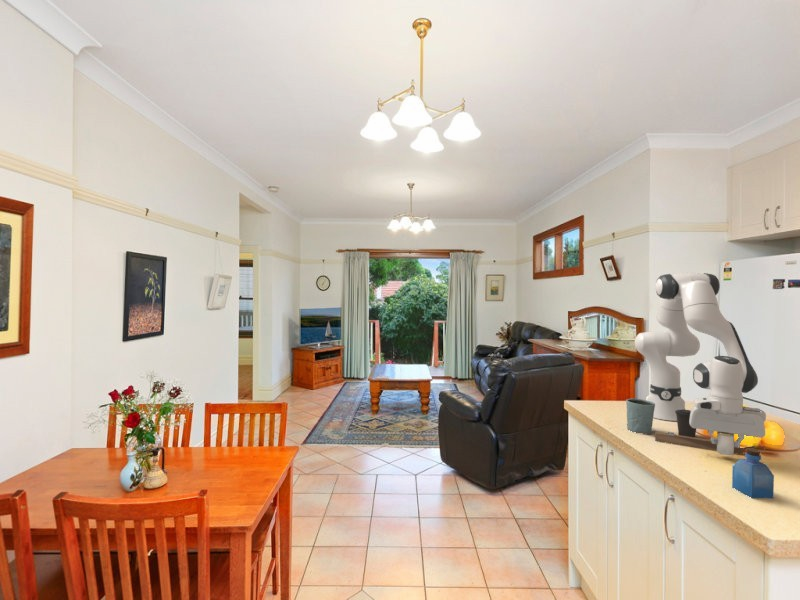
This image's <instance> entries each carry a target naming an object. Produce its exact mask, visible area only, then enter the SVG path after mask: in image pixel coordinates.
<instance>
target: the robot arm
mask: <svg viewBox="0 0 800 600" xmlns="http://www.w3.org/2000/svg"><path fill="white" fill-rule="evenodd" d="M719 280H720V279H719V278H718V277H717V275H715V274H713V273H712V274H711V273H708V272H704V273H699V272H698V273H696V272H686V273H685V272H683V273H673V274H671V273H668V274H661V275H660V276H658V278H657V279H656V282H655V291H656V295H657V296H658V297H659V298H660V299H659V302H658V308H657V314H656V321H657V322H658V323H659V324H660V325H661V326H662V327H664V328H666V329H667V330H668V331H646V332H645V331H644V332H638V334H637V335H636V336H635V338H634V346H635V349H636V351H637V352H638V353H640V354H641V355H642V356H643V357H644V358H645V359H646V361H647V362H648V364H649V367H650V372H651V373H650V374H651V375H650V376H651V384H650V386H649V389H650V390H649V392H650V393H649V394H648V395H647V396H646V398H645V400H647V401H651V402H653V403H655V409H654V416H653V419H657V420H663V421H672V422H673V421H674V422H677V416H676V413H675V411H676V410H686V401H685V400H684V399H683V398H682V387H681V371H680V369H679V368H678V367H677V366H675V365H674V364H672V363H670V362H668V361H667V357H682V358H683V357H690V356H695V355H696V354H697V353H699V351H700V348H701V347H700V346H701V344H700V340H699V338H698V337H697V336H696V335H695V334H693V333H692V332H691V331H690V330H689V328H688V326H689V327H690V328H691V329H693V330H695V331H697V332H699V333H702V334H705V335H708V336H710V337H713V338H715V339H717V340H718V341H720V342H721V343H722V345H723V346H724V350H725V352H726V356H725V355H715V356H713V357H712V358H711V360H709V361H706V362H699V363H698V364H697V365H696V366H695V367H694V368H693V371H692V377H693V379H692V380H693V382H694V383H695V384H696V385H697V386H698V387H700V388H701V389H704V390H710V392H709V396H705V397H700V398H695V399H694V400H693V405H694V406H692V408H691V413H690V419H689V424H690V426H691V427H692V428H696V430H697V429H698V430H703V431H704V430H705V431H707V434H709V437H710V438H712V444H718V443H717V442H718V439H717V437H714V436H713V435H714V434H715V432H716V433H717V432H724V433H732V434H738V437H739V438H738V439H737V440H736V441H734V447H737V448H740V443H741V441H742V440H743V439H744V435H746V436H753V437H754V438H761V439H762V438H764V437H765V436H766V428H765V427H766V426H765V422H766V420H767V414H766V412H765V411H764V410H762V409H760V408H757V407H749V406H744V394H747V393H749V392H752V390H753V389H755V388H756V387H757V386H758V383H759V379H758V378H759V377H758V375H757V374H758V373H757V372H756V371H755V368H754V367H753V365H752V364H751V362H750V359H749V357H748V354H747V353H746V350H745V348H744V346H743V343H742V340H741V338H740V336H739V333H738V331H737V329H736V328H735V326H734V324H733V323H732V322H731V321H729V320H727V318H725V316H724V315H723V314H722V312H721V310H720V307H719V303H718V300H717V295H718V293H719V291H720V287H721V286H720V285H721V284H720V281H719ZM743 393H744V394H743Z"/></svg>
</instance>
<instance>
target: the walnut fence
mask: <svg viewBox="0 0 800 600" xmlns="http://www.w3.org/2000/svg"><path fill="white" fill-rule="evenodd" d="M658 441H660V443H665V442H666V444H671V443H672V445H679V446H683V447H684V446H685V447H689V448H690V447H691V448H696V449H702V450H703V449H704V450H710V451H714V452H717V444H712V438H711V437H710V438H709V439H705V438H699V437H695V438H694V437H687V436H681V435H679V434H675V433H674V432H672V431H667V432H666V433H665V432H660V431H654V442H658ZM734 453H735V455H738V456H739V455H740V456H744V448H737V447H734Z"/></svg>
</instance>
